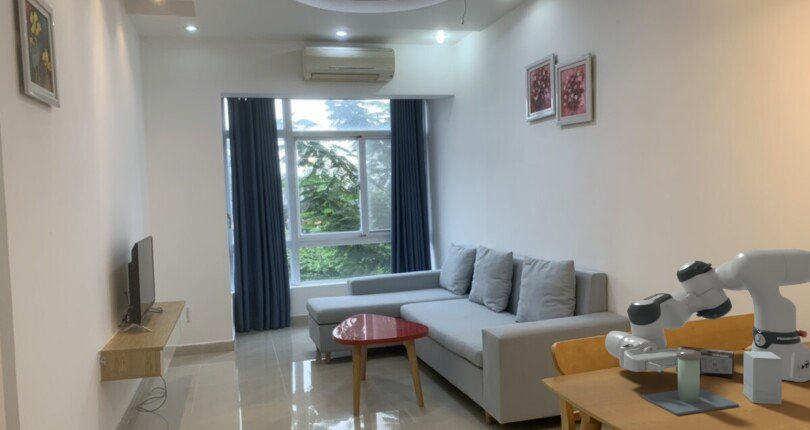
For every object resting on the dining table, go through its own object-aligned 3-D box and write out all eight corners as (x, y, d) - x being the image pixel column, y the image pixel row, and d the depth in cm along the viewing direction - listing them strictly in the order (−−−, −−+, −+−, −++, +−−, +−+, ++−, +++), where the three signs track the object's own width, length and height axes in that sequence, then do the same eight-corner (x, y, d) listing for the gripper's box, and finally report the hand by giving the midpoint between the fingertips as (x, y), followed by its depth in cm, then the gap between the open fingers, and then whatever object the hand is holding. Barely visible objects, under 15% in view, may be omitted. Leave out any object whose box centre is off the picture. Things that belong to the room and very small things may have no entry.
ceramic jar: (689, 394, 167) (689, 348, 166) (705, 401, 161) (706, 354, 160) (671, 396, 165) (671, 350, 164) (687, 404, 159) (687, 356, 158)
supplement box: (782, 404, 159) (782, 358, 158) (752, 403, 161) (752, 357, 160) (771, 395, 166) (771, 351, 166) (742, 393, 168) (742, 350, 167)
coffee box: (675, 371, 189) (732, 379, 180) (675, 351, 188) (732, 358, 180) (679, 364, 196) (734, 371, 187) (679, 345, 196) (734, 351, 187)
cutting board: (699, 389, 172) (699, 387, 172) (738, 406, 159) (738, 403, 159) (641, 397, 167) (641, 395, 167) (676, 415, 153) (676, 413, 153)
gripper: (672, 360, 183) (706, 374, 170) (615, 367, 177) (646, 382, 164) (672, 340, 183) (706, 352, 170) (615, 347, 177) (646, 360, 164)
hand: (676, 367), depth 167 cm, fingers open, 8 cm apart
